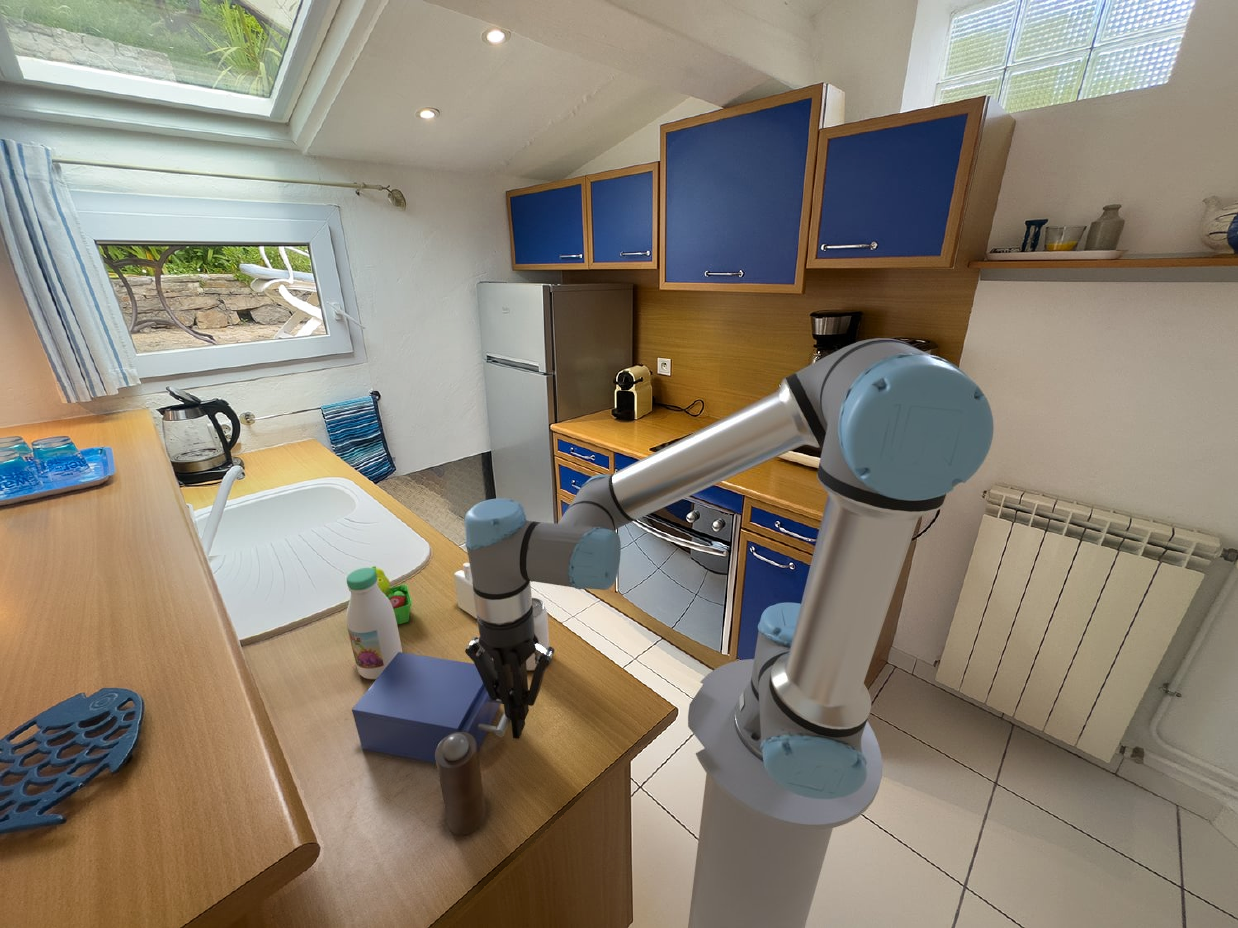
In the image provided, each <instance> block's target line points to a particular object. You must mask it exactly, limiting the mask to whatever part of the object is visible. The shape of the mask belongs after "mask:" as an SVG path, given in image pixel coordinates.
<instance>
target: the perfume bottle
mask: <svg viewBox="0 0 1238 928" xmlns="http://www.w3.org/2000/svg"><path fill="white" fill-rule="evenodd" d="M462 566H463V570H462V569H459V570H457V571H456V572H455V573H454V574H453V578H454V586H455V592H456V593H455V594H456V600H457V606H458V608H460V609H461V610H462V611H464V612H466V613H467V614H469V615H470V616H472V617H473V618H474V619H476V620H477V613H476V608H475V600H474V592H473V584H472V582H473V581H472V574H471V568H470V562H464V563H463V564H462Z"/></svg>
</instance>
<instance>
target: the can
mask: <svg viewBox="0 0 1238 928" xmlns="http://www.w3.org/2000/svg"><path fill="white" fill-rule="evenodd" d="M532 606H533V615H534V633H535V635H536V637H537V638H538V640H539V645H541V646H542V647H544V648H545V649H546V648H547V647H550V633H549V617H548V616H549V615H548V610H547V609H546V606H545V603H544V601H543V600H541V599H539V598H537V597H532ZM526 666H527V672H528V671H529V672H530V671H531V672H532V671H533V672H534V670H535V667H536V664H535V654H534V653H533V654H532V655H531V656H530V657H529V658H528V659H527V661H526Z"/></svg>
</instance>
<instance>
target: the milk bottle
mask: <svg viewBox="0 0 1238 928" xmlns="http://www.w3.org/2000/svg"><path fill="white" fill-rule="evenodd" d="M346 584H347V587H348V589H347V590H348V591H349V592H350V598H349V600H350V602H349V605H348V604H347V608H346V612H345V613H346V614H345V621H346V623H345V624H346V628H347V634H348V637H349V641H350V645H351V649H352V654H353V658H354V661H355V666H356V669H357V672H358V674H359V675H360V676H361V677H363V678H364V679H367V680H376V679H377V678H378V677H379V675H380V674H381V673H382V672H383V671H384V669H385V668H386V667H387V666H388V664H389V663H390V662H391V661H392V659H393V658H394V657H395V656H396V654H397V653H398V652H402V653H404V652H403V647H402V641H401V637H400V631H399V628H398V625H397V622H396V618H395V613H394V610H393V607H392V604H391V602H390V600H389V599H388V598H387V596H386V595H385V594H384V593H383V592H382V591H381V590H380V589H379V587H378V585H377V584H378V579H377V574H376V571H375V570H374V569H372V567H361V568H357V569H355V570H353V571H352V572H350V573H348V575H347V576H346Z"/></svg>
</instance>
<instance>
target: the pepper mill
mask: <svg viewBox="0 0 1238 928" xmlns="http://www.w3.org/2000/svg"><path fill="white" fill-rule="evenodd" d="M435 760H436V763H435V766H436V769H437V775H438V780H439V785H440V790H441V791H440V792H441V796H442V801H443V807H444V812H445V816H446V822H447V827H448V829H449V831H450V832H451V833H453V834H454V835H455V836H462V837H463V836H468V835H470V834H472V833H474V832H475V831H477V830H478V829H479V828H480V827H481V826H482V824H483V823H484V821H485V818H486V814H487V808H486V801H485V794H484V786H483V780H482V773H481V765H480V757H479V750H477V743H476V740H475V738H474V737H473V736H472V735H471V734H470V733H467V732H455V733H452V734H450V735H448V736H447V737H445V738H444V739H443V740H442V741H441V742H440V743H439V745H438V746H437V748H436V751H435Z"/></svg>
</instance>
